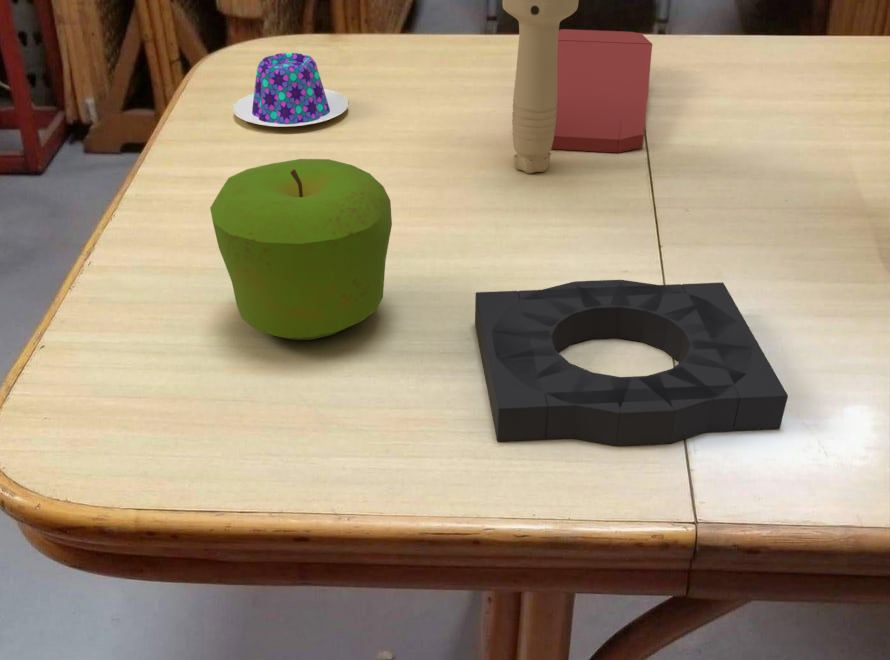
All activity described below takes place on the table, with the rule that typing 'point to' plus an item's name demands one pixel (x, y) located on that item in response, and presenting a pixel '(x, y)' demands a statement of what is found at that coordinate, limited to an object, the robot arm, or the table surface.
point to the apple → (304, 245)
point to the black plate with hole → (623, 398)
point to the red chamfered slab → (601, 90)
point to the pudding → (289, 94)
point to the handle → (536, 79)
